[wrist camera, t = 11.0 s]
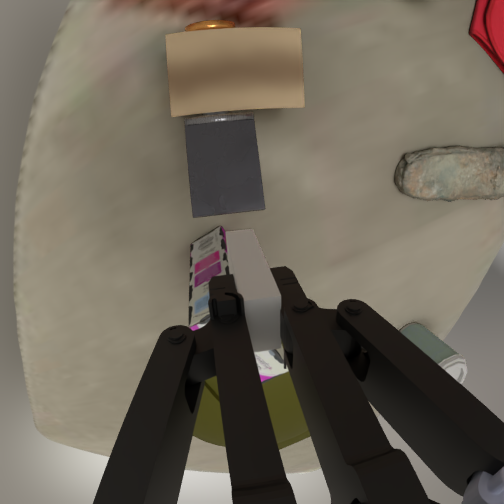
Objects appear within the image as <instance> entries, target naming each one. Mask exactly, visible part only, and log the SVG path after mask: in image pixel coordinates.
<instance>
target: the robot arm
mask: <svg viewBox="0 0 504 504" xmlns="http://www.w3.org/2000/svg"><path fill="white" fill-rule="evenodd" d="M226 243H227V253H228V262H229V272H230V274H228V275H220V276H212V278H211V279H210V281H209V282H208V285H209V297H210V298H209V300H208V307H209V313H210V320H209V322H208V323H207V324H206V325H205V326H203V327H201V328H199V329H196V330H194V331H192V329H191V328H189V327H187V326H182V325H178V326H172V327H169V328H167V329H166V330H164V331H163V332H162V333H161V335H160V336H159V339H158V341H157V343H156V345H155V348H154V350H153V352H152V355H151V357H150V359H149V362H148V364H147V366H146V369H145V371H144V373H143V376H142V378H141V380H140V383H139V385H138V387H137V390H136V392H135V395H134V397H133V400H132V402H131V404H130V407H129V409H128V412H127V414H126V417H125V419H124V422H123V424H122V427H121V429H120V432H119V434H118V437H117V440H116V442H115V445H114V447H113V450H112V453H111V455H110V458H109V460H108V463H107V466H106V468H105V471H104V474H103V477H102V479H101V482H100V485H99V488H98V490H97V493H96V496H95V499H94V502H93V504H177V501H178V497H179V492H180V488H181V483H182V479H183V475H184V470H185V466H186V461H187V457H188V453H189V449H190V444H191V440H192V436H193V431H194V427H195V423H196V419H197V414H198V410H199V406H200V402H201V398H202V393H203V389H204V385H205V380H207V379H210V378H212V377H215V376H217V384H218V393H219V401H220V409H221V417H222V424H223V432H224V439H225V446H226V453H227V460H228V466H229V473H230V479H231V486H232V500H233V504H297V503H296V500H295V496H294V493H293V490H292V487H291V484H290V483H289V481H288V480H287V478H286V474H285V471H284V467H283V463H282V460H281V456H280V452H279V448H278V444H277V441H276V437H275V433H274V429H273V425H272V422H271V418H270V414H269V410H268V406H267V402H266V398H265V394H264V390H263V386H262V382H261V378H260V374H259V370H258V366H257V362H256V358H255V354H254V352H261V351H267V350H273V349H279V348H281V340H282V343H283V346H284V369H286V365H287V367H288V370H289V373H290V376H291V379H292V382H293V385H294V388H295V391H296V394H297V397H298V400H299V403H300V406H301V409H302V412H303V415H304V418H305V421H306V424H307V427H308V430H309V432H310V435H311V438H312V441H313V444H314V447H315V450H316V453H317V456H318V459H319V462H320V465H321V468H322V471H323V474H324V477H325V480H326V483H327V486H328V488H329V492H330V495H331V504H440V503H437V502H435V501H432V500H430V499H428V497H427V495H426V493H425V491H424V489H423V487H422V485H421V483H420V481H419V479H418V477H417V475H416V472H415V471H414V469H413V467H412V465H411V463H410V461H409V459H408V457H407V456H406V454H405V453H404V452H403V451H402V450H401V449H394V448H393V447H392V446H391V445H390V443H389V441H388V439H387V437H386V435H385V433H384V431H383V429H382V427H381V426H380V423H379V421H378V419H377V417H376V415H375V413H374V411H373V409H372V408H371V406H370V404H369V402H370V403H371V404H372V405H373V407H374V408H375V409H376V410H377V411H378V412H379V413H380V414H381V415H382V416H383V417H384V419H385V420H386V421H387V422H388V423H389V424H390V425H391V427H392V428H393V429H394V430H395V431H396V432H397V433H398V434H399V435H400V436H401V438H402V439H403V440H404V441H405V442H406V443H407V444H408V445H409V446H410V447H411V449H412V450H413V451H414V452H415V453H416V454H417V455H418V456H419V457H420V458H421V460H423V462H424V463H425V464H426V465H427V466H428V467H429V468H430V469H431V470H432V471H433V473H434V474H435V475H436V476H437V477H438V478H439V479H440V480H441V481H442V482H443V483H444V484H445V485H446V486H448V487H449V488H450V489H452V490H453V491H454V492H456V493H457V494H459V495H461V496H463V501H462V504H504V423H503V422H502V421H501V420H500V419H499V418H498V417H497V416H496V415H495V414H494V413H492V412H491V411H490V410H489V409H488V408H487V407H486V406H485V405H484V404H483V403H481V402H480V401H479V400H478V399H477V398H476V397H475V396H473V394H471V393H470V392H469V391H468V390H467V389H466V388H465V387H463V386H462V385H461V384H460V383H459V382H458V381H457V380H456V379H454V378H453V377H452V376H451V375H450V374H449V373H448V372H446V371H445V370H444V369H443V368H442V367H441V366H439V365H438V364H437V363H436V362H435V361H434V360H433V359H431V358H430V357H429V356H428V355H427V354H426V353H424V352H423V351H422V350H421V349H420V348H419V347H417V346H416V345H415V344H414V343H413V342H411V341H410V340H409V339H408V338H407V337H406V336H404V335H403V334H402V333H401V332H400V331H398V330H397V329H396V328H395V327H394V326H392V325H391V324H390V323H389V322H388V321H386V320H385V319H384V318H383V317H382V316H380V315H379V314H378V313H377V312H376V311H374V310H373V309H372V308H371V307H370V306H368V305H367V304H366V303H364V302H362V301H360V300H356V299H348V300H344V301H342V302H340V303H339V305H338V306H337V309H323V308H319V307H318V306H317V304H316V303H315V302H314V301H312V300H310V299H308V298H307V297H306V295H305V293H304V292H303V290H302V288H301V286H300V284H299V283H298V280H297V278H296V277H295V275H294V273H293V271H292V270H290V269H289V268H287V267H286V266H284V267H276V268H269V266H268V263H267V261H266V259H265V256H264V254H263V252H262V249H261V247H260V245H259V242H258V240H257V238H256V235H255V233H254V230H253V229H244V230H235V231H227V232H226ZM368 401H369V402H368Z"/></svg>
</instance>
